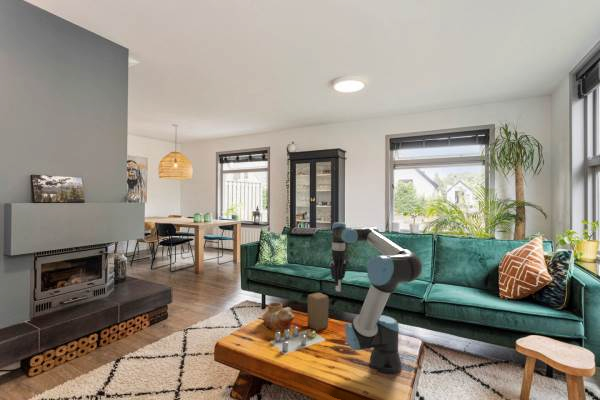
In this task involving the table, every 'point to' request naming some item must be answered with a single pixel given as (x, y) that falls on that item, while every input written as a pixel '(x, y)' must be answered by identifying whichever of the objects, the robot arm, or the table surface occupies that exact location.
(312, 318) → the wooden block
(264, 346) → the table surface
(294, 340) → the board
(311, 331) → the brass round knob
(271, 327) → the ceramic vessel
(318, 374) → the table surface
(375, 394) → the table surface
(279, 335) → the spacers
